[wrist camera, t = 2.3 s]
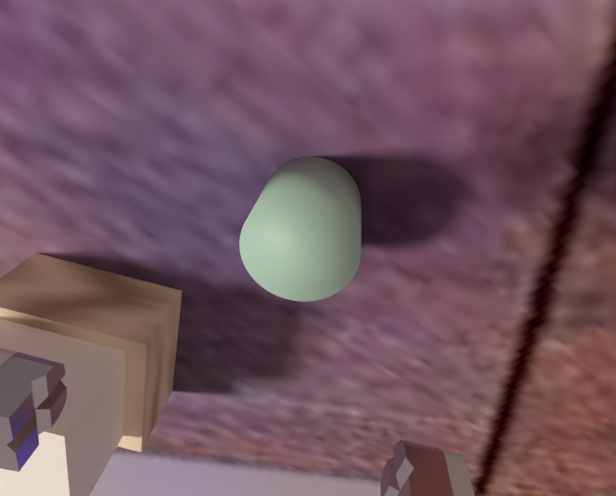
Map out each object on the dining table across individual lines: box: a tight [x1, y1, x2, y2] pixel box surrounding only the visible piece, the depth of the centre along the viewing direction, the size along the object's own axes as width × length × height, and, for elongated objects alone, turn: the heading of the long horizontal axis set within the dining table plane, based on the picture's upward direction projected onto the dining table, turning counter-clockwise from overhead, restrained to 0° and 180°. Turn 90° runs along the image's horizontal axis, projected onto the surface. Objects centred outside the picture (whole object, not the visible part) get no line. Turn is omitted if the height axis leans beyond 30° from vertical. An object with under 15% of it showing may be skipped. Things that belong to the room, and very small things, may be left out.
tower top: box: [0, 319, 125, 496], centre depth 21 cm, size 7×7×5 cm
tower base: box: [0, 253, 182, 452], centre depth 25 cm, size 9×9×5 cm
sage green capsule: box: [239, 156, 361, 302], centre depth 19 cm, size 5×5×5 cm
